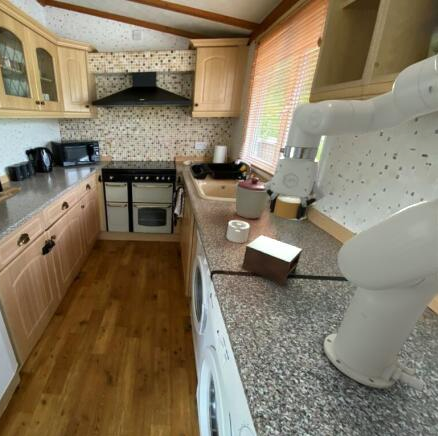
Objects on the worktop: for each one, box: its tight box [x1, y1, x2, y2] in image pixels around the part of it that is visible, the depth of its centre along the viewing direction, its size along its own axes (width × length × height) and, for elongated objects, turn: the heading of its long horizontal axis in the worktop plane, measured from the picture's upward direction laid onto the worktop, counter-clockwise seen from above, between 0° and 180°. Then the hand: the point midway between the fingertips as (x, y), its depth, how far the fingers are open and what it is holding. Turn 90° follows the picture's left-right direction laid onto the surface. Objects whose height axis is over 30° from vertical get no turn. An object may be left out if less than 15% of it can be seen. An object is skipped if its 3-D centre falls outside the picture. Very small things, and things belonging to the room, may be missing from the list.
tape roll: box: [273, 195, 301, 220], centre depth 71 cm, size 7×7×5 cm
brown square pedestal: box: [241, 234, 303, 287], centre depth 85 cm, size 14×12×9 cm
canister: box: [235, 176, 271, 220], centre depth 129 cm, size 18×18×21 cm
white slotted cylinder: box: [225, 219, 251, 244], centre depth 112 cm, size 20×9×7 cm, turn 157°
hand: (285, 214), depth 72 cm, fingers closed on tape roll, 6 cm apart
